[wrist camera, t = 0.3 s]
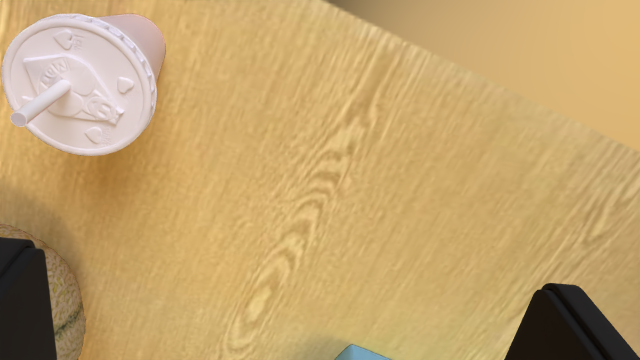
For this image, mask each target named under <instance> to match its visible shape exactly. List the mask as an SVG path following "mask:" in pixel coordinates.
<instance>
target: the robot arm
mask: <svg viewBox="0 0 640 360" xmlns="http://www.w3.org/2000/svg"><path fill="white" fill-rule="evenodd" d="M0 360H57V352H56V343H55V334H54V326H53V317H52V308H51V300H50V291H49V282H48V273H47V265H46V256H45V252H44V250H43V249H37V248H36V247H35V244H34V242H33V241H32V240H30V239H18V238H6V237H0ZM504 360H640V358H639V357H638V356H637V354H636V353H635V352H634V351H633V350H632V348H631V347H630V346H629V345H628V344H627V342H626V341H625V340H624V339H623V338H622V336H621V335H620V334H619V333H618V332H617V330H616V329H615V328H614V327H613V326H612V324H611V323H610V322H609V321H608V320H607V318H606V317H605V316H604V315H603V314H602V312H601V311H600V310H599V309H598V308H597V306H596V305H595V304H594V303H593V302H592V300H591V299H590V298H589V297H588V296H587V294H586V293H585V292H584V291H583V290H582V289H581V288H580V287H579V286H576V285H568V284H556V283H548V284H545V285H544V286H543V287H542V289H541V290H537V291H536V292H535V293H534V295H533V297H532V299H531V301H530V304H529V306H528V308H527V310H526V313H525V315H524V317H523V319H522V321H521V324H520V326H519V328H518V330H517V333H516V335H515V337H514V339H513V341H512V344H511V346H510V348H509V350H508V353H507V355H506V357H505V359H504Z"/></svg>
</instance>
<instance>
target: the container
mask: <svg viewBox="0 0 640 360" xmlns="http://www.w3.org/2000/svg"><path fill="white" fill-rule="evenodd" d="M335 360H390V359H388V358H385V357H383V356H380V355H378V354H375V353H373V352H371V351H368V350H365V349H363V348H360V347H358V346H355V345H350V346H348V347H347V348H346V349H345V350H344V351H343V352H342V353H341V354H340V355H339V356H338V357H337V358H336V359H335Z"/></svg>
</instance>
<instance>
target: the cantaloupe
mask: <svg viewBox="0 0 640 360" xmlns="http://www.w3.org/2000/svg"><path fill="white" fill-rule="evenodd" d="M0 237H6V238H18V239H30V240H32V241H33V242H34V244H35V247H36V248H37V249H43V250H44V252H45V256H46V265H47V273H48V282H49V291H50V300H51V308H52V317H53V326H54V334H55V343H56V352H57V360H78V357H79V356H80V354H81V349H82V346H83V339H84V334H85V327H86V326H85V322H86V318H85V316H84V309H83V304H82V299H81V294H80V290H79V286H78V284H77V281H76V279H75V277H74V275H73V273H72V271H71V270H70V268H69V266H68V265H67V263H66V262H65V261H64V260H63V259H62V258H61V257H60V256H59V255H58V254H57V253H56V252H55V251H54V250H53V249H51V248H49V247H47V246H46V245H45V243H44V242H42V241H40V240H38V239H36V238H34V237H33V236H32V235H30V234H27V233H25V232H23V231H22V230H20V229H16V228H14V227H12V226H8V225H3V224H0Z"/></svg>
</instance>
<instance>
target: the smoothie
mask: <svg viewBox="0 0 640 360" xmlns="http://www.w3.org/2000/svg"><path fill="white" fill-rule="evenodd" d="M165 52H166V46H165V40H164V37H163V35H162V33H161V31H160V30H159V29H158V27H157V26H156V25H155V24H154V23H153V22H151V21H150V20H149V19H147V18H145V17H143V16H140V15H136V14H122V15H113V16H104V17H95V18H94V17H90V16H86V15H82V14H57V15H53V16H50V17H47V18H43V19H40V20H39V21H37V22H36V23H34V24H32V25H30V26H29V27H27V28H25V29H24V30H23V31H21V32H20V33H19V34H18V35H17V36H16V37H15V38H14V39H13V41H12V42H11V43H10V45H9V47H8V49H7V51H6V53H5V56H4V60H3V65H2V83H3V88H4V92H5V95H6V98H7V100H8V103H9V105H10V107H11V109H12V110H13V112H14V113H13V114H12V115H11V121H12V123H13V124H14V125H16V126H18V127H23V126H25V127H26V128H27V129H28V130H29V131H30V132H31V133H32V134H33V135H35V136H36V137H37V138H39V139H40V140H42V141H43V142H45V143H46V144H48V145H50V146H52V147H54V148H56V149H59V150H61V151H64V152H67V153H71V154H76V155H82V156H100V155H106V154H110V153H113V152H116V151H119V150H121V149H123V148H125V147H126V146H128V145H129V144H131V143H132V142H133V141H134V140H135V139H136V138H137V137H138V136H139V135H140V134H141V133H142V132H143V131H144V130H145V129H146V127H147V126H148V125H149V123H150V121H151V119H152V116H153V114H154V112H155V108H156V100H157V89H156V82H157V79H158V76H159V73H160V70H161V66H162V63H163V60H164V57H165Z"/></svg>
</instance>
